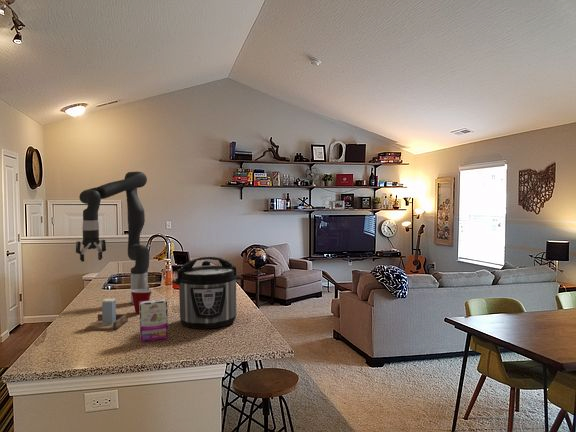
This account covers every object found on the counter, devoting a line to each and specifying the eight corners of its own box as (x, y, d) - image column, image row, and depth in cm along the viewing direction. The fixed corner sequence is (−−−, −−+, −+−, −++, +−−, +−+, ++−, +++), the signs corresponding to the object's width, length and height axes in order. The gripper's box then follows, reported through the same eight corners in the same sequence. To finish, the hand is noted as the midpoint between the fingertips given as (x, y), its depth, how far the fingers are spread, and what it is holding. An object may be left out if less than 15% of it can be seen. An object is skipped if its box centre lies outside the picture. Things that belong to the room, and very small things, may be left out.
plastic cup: (157, 311, 229) (156, 288, 228) (142, 316, 219) (141, 292, 219) (141, 309, 233) (141, 287, 233) (126, 313, 224) (125, 290, 223)
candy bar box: (166, 336, 187) (166, 298, 186) (168, 339, 182) (167, 300, 181) (139, 339, 182) (138, 300, 182) (140, 342, 178) (139, 303, 177)
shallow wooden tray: (98, 321, 209) (98, 314, 209) (127, 321, 210) (127, 314, 209) (84, 330, 194) (84, 322, 194) (116, 330, 195) (115, 322, 194)
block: (106, 321, 205) (106, 298, 205) (116, 321, 205) (115, 298, 205) (102, 324, 200) (102, 300, 200) (112, 324, 200) (112, 300, 200)
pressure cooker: (163, 328, 198) (163, 259, 197) (194, 313, 225) (194, 252, 224) (222, 334, 189) (222, 262, 188) (247, 317, 216) (247, 254, 215)
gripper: (79, 230, 212) (79, 263, 213) (107, 228, 222) (108, 260, 223) (73, 229, 217) (74, 261, 218) (101, 228, 228) (102, 258, 228)
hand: (91, 260), depth 221 cm, fingers open, 8 cm apart
